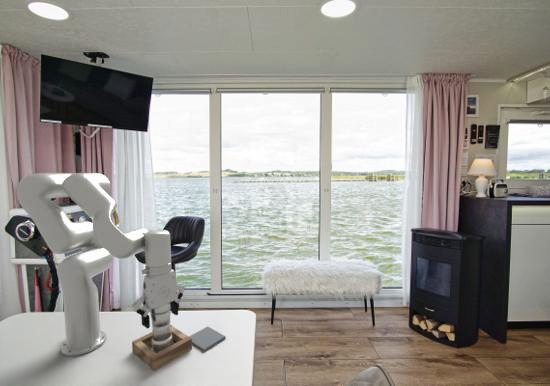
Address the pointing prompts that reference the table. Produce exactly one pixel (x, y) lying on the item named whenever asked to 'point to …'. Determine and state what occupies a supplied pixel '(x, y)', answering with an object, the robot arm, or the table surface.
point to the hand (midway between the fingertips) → (161, 320)
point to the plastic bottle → (161, 328)
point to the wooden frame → (164, 356)
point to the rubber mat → (206, 338)
